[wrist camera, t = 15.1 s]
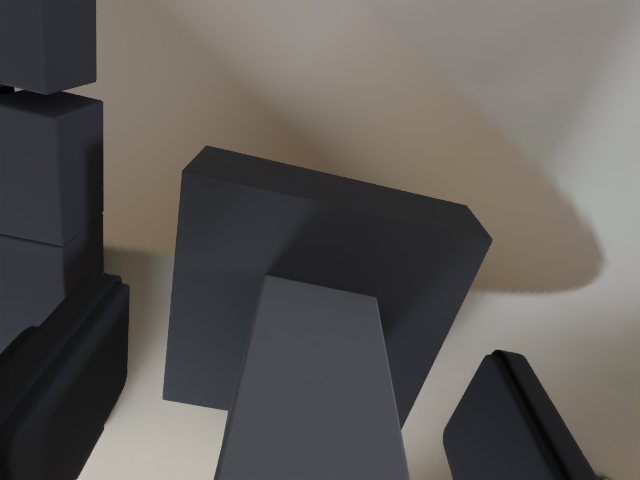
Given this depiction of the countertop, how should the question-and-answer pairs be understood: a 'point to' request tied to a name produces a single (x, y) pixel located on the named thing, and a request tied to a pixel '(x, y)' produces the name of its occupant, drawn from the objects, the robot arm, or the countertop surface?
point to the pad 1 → (47, 45)
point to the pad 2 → (310, 313)
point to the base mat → (47, 204)
